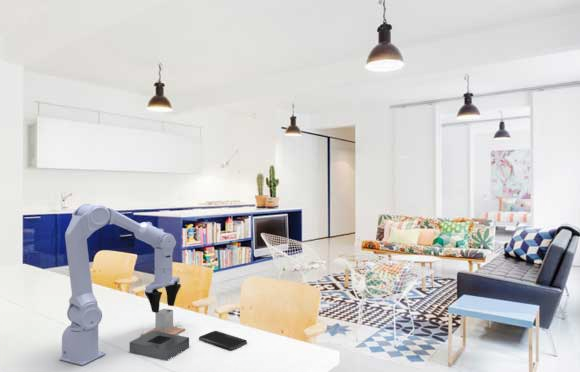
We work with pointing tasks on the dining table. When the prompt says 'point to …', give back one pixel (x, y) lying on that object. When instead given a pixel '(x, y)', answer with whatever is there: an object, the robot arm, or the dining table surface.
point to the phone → (223, 340)
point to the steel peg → (164, 321)
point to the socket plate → (159, 345)
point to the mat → (174, 332)
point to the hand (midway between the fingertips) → (163, 308)
